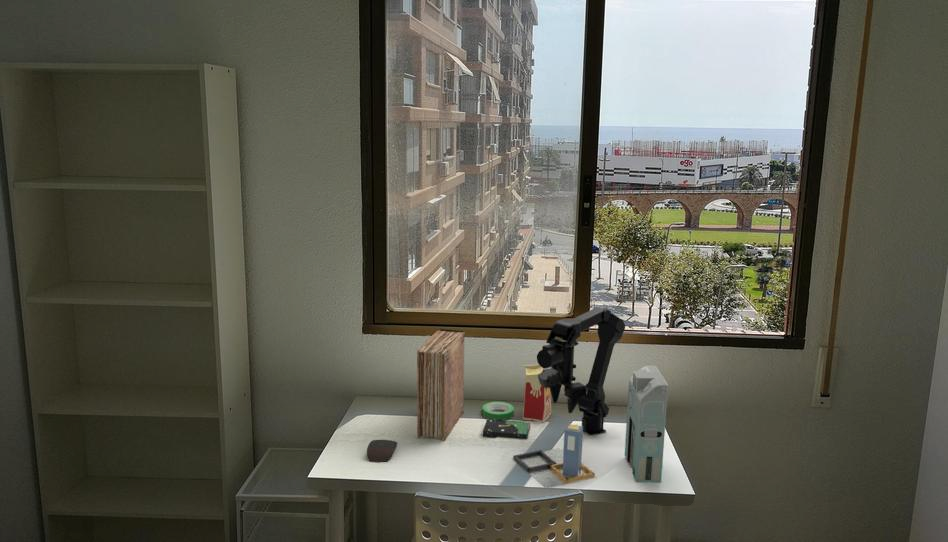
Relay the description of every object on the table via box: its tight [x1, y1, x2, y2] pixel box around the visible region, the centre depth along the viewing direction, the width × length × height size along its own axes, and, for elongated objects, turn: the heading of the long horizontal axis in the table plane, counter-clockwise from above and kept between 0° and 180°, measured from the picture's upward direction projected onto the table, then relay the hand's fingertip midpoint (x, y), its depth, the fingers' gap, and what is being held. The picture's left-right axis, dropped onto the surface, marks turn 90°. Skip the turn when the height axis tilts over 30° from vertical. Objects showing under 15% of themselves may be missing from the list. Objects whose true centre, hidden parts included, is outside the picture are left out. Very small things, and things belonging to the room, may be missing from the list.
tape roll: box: [482, 401, 515, 420], centre depth 274 cm, size 11×11×3 cm
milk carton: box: [522, 363, 552, 423], centre depth 271 cm, size 9×9×20 cm
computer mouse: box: [366, 439, 398, 463], centre depth 243 cm, size 8×14×4 cm, turn 174°
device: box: [624, 365, 669, 483], centre depth 231 cm, size 16×8×30 cm, turn 0°
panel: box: [511, 448, 597, 489], centre depth 234 cm, size 17×21×2 cm
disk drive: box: [482, 418, 531, 440], centre depth 259 cm, size 10×3×15 cm
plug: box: [563, 423, 584, 476], centre depth 229 cm, size 6×4×14 cm
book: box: [416, 328, 465, 442], centre depth 261 cm, size 25×9×30 cm, turn 166°
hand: (562, 407), depth 247 cm, fingers open, 9 cm apart
